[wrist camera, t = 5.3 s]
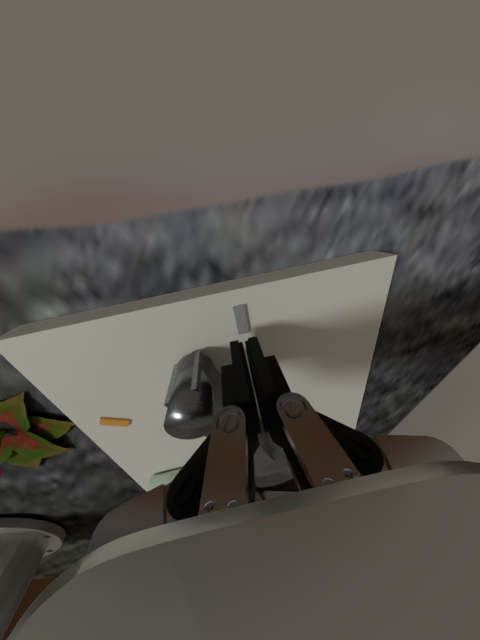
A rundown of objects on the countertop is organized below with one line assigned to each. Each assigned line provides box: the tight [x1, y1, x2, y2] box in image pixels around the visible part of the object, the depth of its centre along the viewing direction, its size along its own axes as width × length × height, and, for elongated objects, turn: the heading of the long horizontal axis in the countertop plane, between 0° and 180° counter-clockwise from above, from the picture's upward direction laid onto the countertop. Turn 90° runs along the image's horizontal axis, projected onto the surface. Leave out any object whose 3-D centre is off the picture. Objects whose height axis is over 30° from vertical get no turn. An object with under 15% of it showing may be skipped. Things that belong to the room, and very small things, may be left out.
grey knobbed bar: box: [164, 351, 293, 487], centre depth 14 cm, size 15×5×4 cm, turn 29°
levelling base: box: [0, 250, 397, 492], centre depth 16 cm, size 24×22×4 cm
